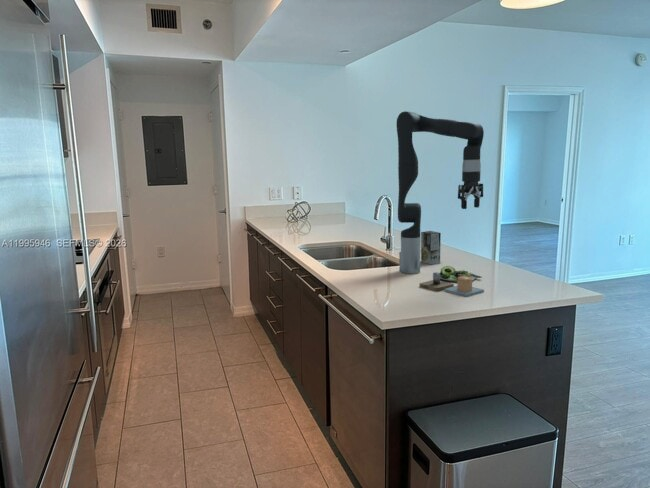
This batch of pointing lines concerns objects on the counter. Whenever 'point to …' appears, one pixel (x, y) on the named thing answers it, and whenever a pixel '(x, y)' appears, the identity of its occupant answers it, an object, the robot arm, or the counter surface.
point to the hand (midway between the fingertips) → (470, 208)
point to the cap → (464, 283)
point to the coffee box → (430, 247)
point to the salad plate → (454, 274)
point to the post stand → (436, 283)
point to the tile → (464, 293)
